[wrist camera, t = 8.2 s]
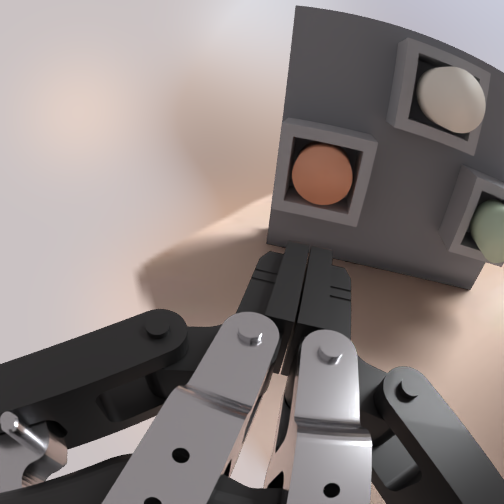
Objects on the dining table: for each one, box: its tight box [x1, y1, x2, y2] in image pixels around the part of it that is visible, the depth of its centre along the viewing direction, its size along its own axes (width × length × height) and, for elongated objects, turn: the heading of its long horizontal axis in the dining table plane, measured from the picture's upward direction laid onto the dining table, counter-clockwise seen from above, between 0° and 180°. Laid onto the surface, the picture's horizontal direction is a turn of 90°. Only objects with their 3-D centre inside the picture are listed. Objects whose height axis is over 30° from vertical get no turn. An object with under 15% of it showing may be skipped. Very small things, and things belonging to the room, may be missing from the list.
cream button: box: [416, 67, 486, 133], centre depth 12 cm, size 2×4×4 cm, turn 75°
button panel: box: [266, 6, 504, 290], centre depth 19 cm, size 6×21×20 cm, turn 75°
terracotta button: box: [292, 141, 353, 205], centre depth 19 cm, size 2×4×4 cm, turn 76°
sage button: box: [470, 199, 504, 263], centre depth 16 cm, size 2×4×4 cm, turn 76°
